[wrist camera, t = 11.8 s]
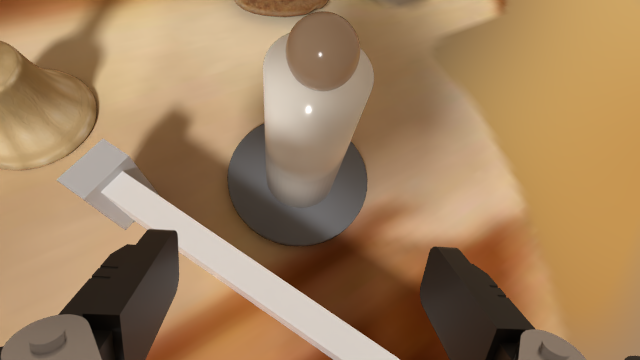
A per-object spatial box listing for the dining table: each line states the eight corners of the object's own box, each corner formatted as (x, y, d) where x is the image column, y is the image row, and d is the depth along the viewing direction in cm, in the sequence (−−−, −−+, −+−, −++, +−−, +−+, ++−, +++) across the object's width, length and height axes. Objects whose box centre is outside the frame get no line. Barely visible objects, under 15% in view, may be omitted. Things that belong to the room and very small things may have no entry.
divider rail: (104, 214, 22) (56, 179, 17) (138, 180, 24) (103, 138, 19) (455, 461, 20) (520, 505, 14) (473, 408, 21) (539, 431, 16)
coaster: (198, 194, 24) (196, 190, 23) (281, 100, 28) (281, 95, 27) (320, 275, 23) (321, 274, 22) (387, 165, 27) (390, 161, 26)
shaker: (252, 183, 24) (233, 28, 12) (290, 136, 26) (309, -40, 14) (309, 221, 24) (352, 98, 11) (344, 169, 26) (413, 17, 13)
